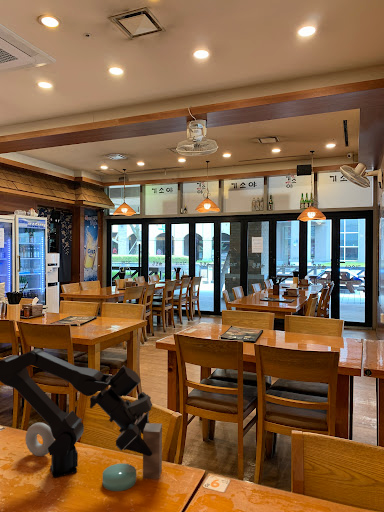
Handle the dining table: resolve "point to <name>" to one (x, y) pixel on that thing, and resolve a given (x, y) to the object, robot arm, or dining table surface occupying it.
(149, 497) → the dining table surface
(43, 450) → the donut
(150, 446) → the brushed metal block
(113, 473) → the teal base
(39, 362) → the robot arm
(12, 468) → the dining table surface
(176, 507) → the dining table surface
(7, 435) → the dining table surface
